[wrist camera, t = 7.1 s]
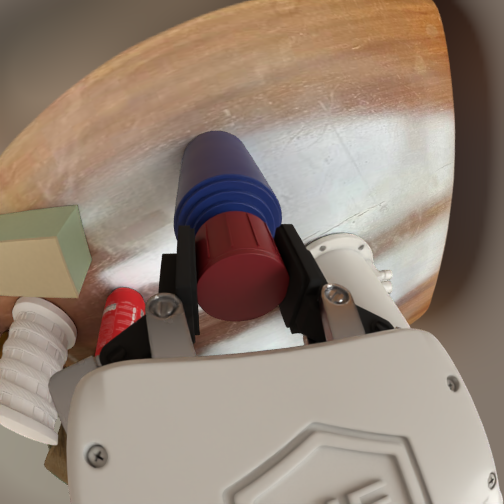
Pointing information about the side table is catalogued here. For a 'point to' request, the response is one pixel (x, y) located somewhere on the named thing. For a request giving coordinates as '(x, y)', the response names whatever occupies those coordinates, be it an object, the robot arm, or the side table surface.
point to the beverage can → (119, 314)
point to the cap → (238, 267)
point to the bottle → (222, 183)
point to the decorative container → (33, 367)
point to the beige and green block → (43, 253)
